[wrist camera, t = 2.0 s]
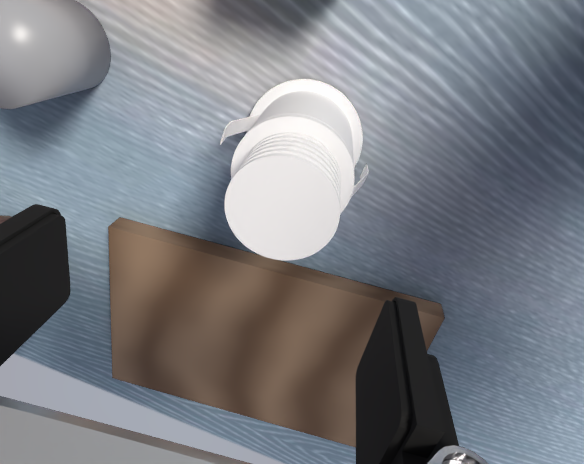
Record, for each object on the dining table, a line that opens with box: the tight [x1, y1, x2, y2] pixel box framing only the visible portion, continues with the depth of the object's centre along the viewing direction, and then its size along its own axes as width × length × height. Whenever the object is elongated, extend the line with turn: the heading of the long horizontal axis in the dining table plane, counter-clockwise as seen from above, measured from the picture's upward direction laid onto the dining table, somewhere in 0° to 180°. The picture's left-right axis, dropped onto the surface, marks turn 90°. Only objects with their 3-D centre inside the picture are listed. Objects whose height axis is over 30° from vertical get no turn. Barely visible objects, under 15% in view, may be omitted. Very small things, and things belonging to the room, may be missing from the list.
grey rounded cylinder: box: [0, 0, 111, 109], centre depth 21 cm, size 5×5×6 cm
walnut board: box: [108, 217, 445, 447], centre depth 32 cm, size 24×16×2 cm, turn 78°
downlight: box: [220, 79, 369, 260], centre depth 20 cm, size 8×7×10 cm
